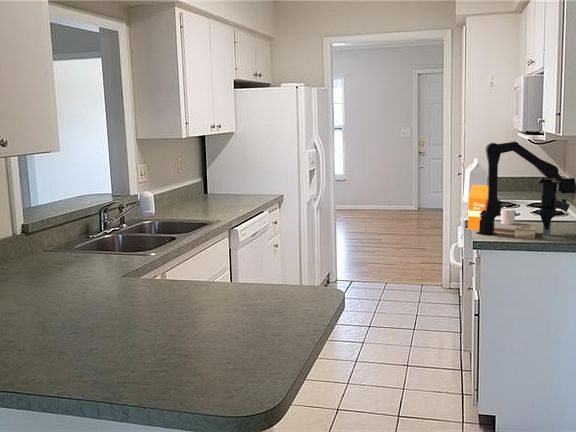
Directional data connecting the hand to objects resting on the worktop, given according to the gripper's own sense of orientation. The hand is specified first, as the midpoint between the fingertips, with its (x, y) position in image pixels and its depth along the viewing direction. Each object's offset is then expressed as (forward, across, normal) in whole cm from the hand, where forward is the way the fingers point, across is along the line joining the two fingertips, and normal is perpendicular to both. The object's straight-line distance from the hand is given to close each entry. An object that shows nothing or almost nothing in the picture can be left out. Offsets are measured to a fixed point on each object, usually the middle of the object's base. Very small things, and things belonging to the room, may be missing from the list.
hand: (546, 229), depth 273 cm
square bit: (+2, 0, 0) cm, 2 cm away
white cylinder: (+3, +26, +18) cm, 31 cm away
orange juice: (+3, +8, +28) cm, 30 cm away
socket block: (+2, -4, +8) cm, 10 cm away
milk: (+3, +102, +41) cm, 110 cm away
